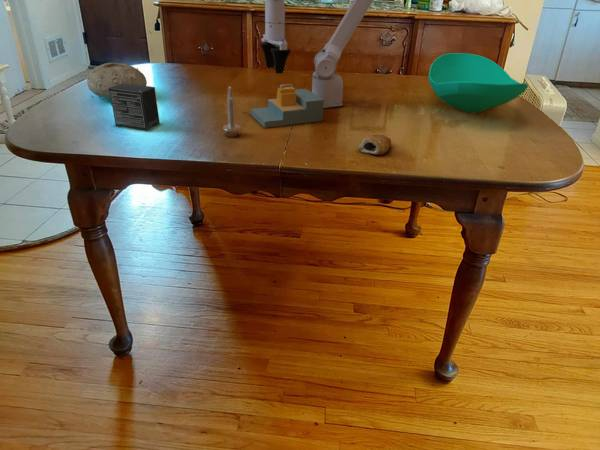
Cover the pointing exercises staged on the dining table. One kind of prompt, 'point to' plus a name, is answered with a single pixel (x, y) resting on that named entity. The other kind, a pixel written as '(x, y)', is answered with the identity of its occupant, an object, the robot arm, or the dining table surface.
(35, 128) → the dining table surface
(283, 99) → the block with handle
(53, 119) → the dining table surface
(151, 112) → the small box
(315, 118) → the step rack
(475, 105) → the table top decor
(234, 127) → the screw
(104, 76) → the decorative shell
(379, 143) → the pastry
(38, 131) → the dining table surface
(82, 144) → the dining table surface
